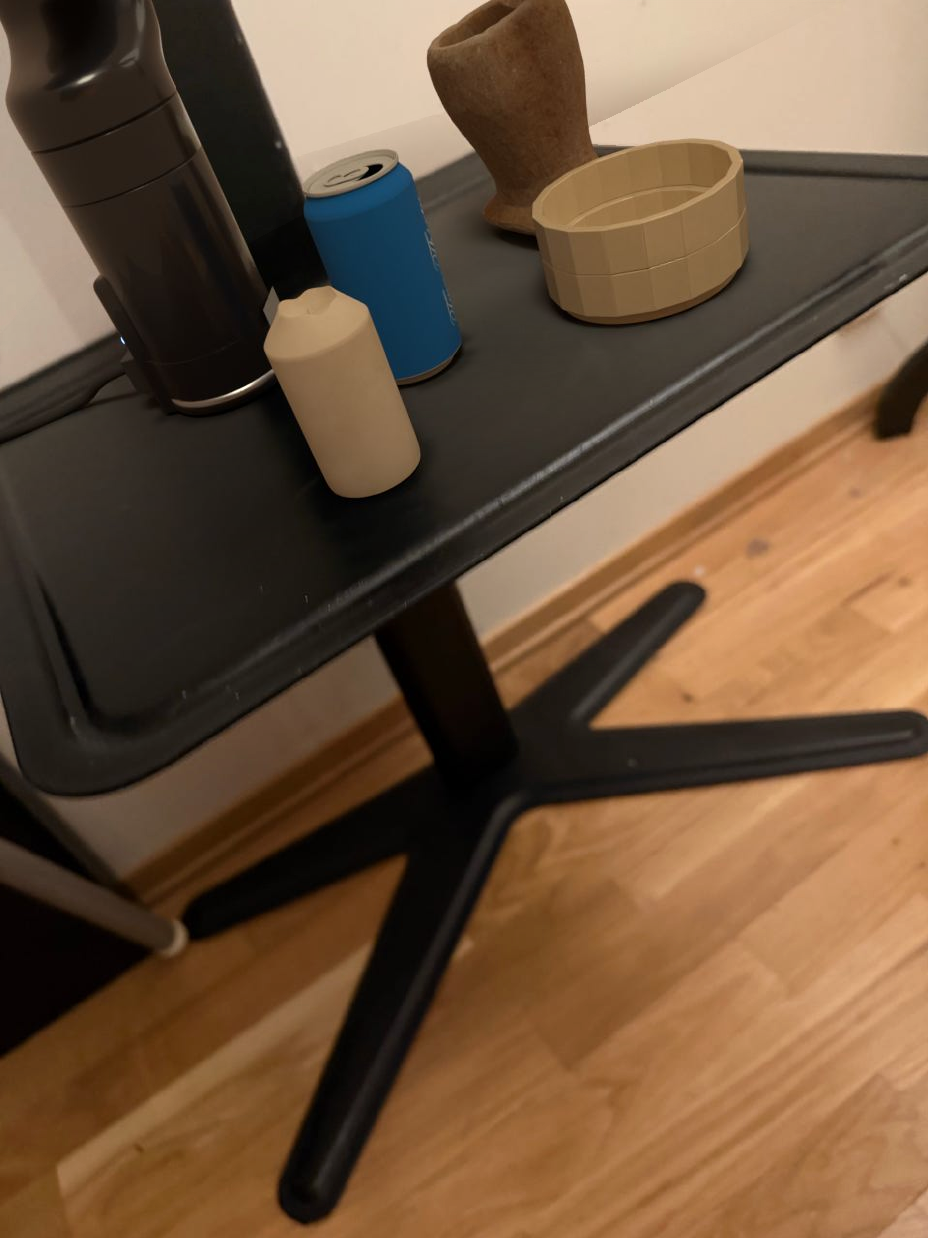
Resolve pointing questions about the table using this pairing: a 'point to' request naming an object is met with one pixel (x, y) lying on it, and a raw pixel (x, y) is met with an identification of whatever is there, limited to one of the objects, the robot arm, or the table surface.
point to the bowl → (644, 230)
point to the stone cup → (516, 98)
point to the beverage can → (384, 258)
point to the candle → (342, 392)
